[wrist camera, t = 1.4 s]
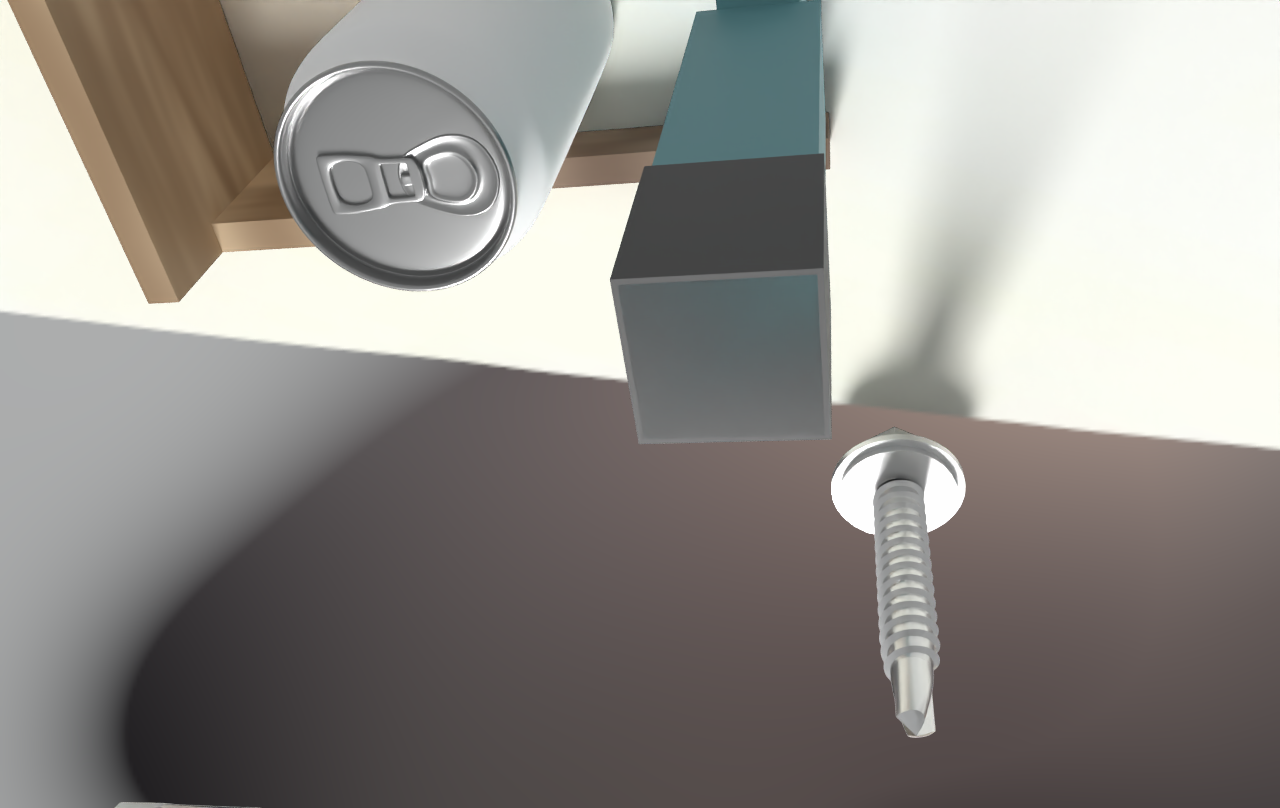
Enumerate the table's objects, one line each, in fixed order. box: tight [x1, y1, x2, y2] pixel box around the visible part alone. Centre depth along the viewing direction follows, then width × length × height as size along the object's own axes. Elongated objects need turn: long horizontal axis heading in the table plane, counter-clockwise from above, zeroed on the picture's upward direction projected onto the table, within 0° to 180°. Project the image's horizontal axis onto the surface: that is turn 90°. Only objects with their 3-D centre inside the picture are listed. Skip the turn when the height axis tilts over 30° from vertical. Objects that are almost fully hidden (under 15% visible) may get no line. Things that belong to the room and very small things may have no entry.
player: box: [610, 0, 832, 444], centre depth 25 cm, size 3×6×19 cm, turn 8°
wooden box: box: [8, 0, 830, 304], centre depth 31 cm, size 20×10×8 cm, turn 98°
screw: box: [831, 427, 965, 738], centre depth 38 cm, size 13×5×5 cm
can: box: [274, 0, 614, 291], centre depth 30 cm, size 6×6×12 cm
